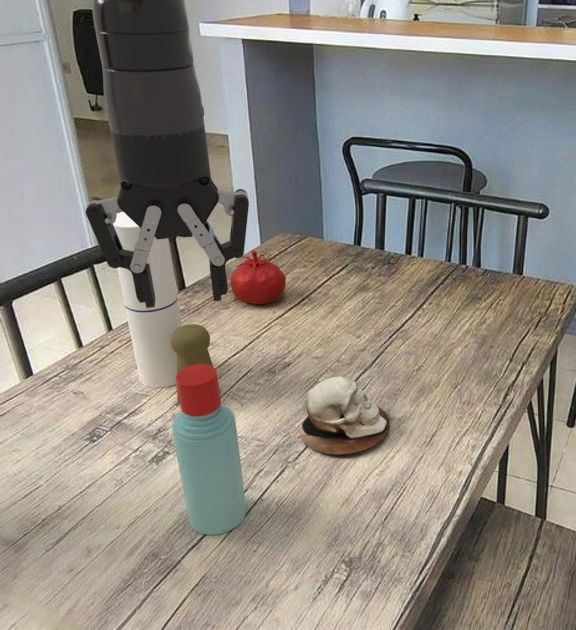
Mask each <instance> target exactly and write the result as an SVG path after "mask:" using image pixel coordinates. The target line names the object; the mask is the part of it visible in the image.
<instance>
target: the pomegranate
mask: <svg viewBox="0 0 576 630" xmlns="http://www.w3.org/2000/svg"><path fill="white" fill-rule="evenodd" d="M250 254H251V256H252V258H251V257H250V256H246V255H245V256H244V255H243V256H242V257H241V258H242V259H245V260H244V261H243V262H242V263H239V264H238V265H235V267H236V268H235V269H234V271H233V272H232V274H231V275H230V287H231V291H232V294H233V295H234V297H235V298H237V300H239V301H241V302H243V303H247V304H254V305H265V304H269V303H271V302H274V301H276V300H278V299H279V298H280V297H281V296H282V294H283V293H284V290H285V286H286V282H287V281H286V280H287V277H286V275H285V273H284V272H283V271H282V269H280V267H279V266H278V265H276V264H275V263H274V262H271V261H270V260H269V259H271V260H272V259H274V260H275V259H278V258H277V257H267V258H263V259H262V258H261V257H265V254H262V253H260V254H259V256H258V252H257V251H256V250H251V251H250Z"/></svg>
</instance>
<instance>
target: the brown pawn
mask: <svg viewBox="0 0 576 630" xmlns="http://www.w3.org/2000/svg"><path fill="white" fill-rule="evenodd" d="M210 345H211V335H210V332H209V331H208V329H207V328H206V327H205V326H203V325H200V324H197V323H196V324H193V323H191V324H190V323H189V324H184V325H182V326H181V327H179V328H177V329H176V330H175V331H174V332H173V333H172V335H171V346H172V348H173V350H174V352H176V353H177V373H178V372H179V371H180V370H182V369H184V368H186V367H188V366H191V365H197V364H205V365H210V366H212V367H214V365H213V361H212V359H211V356H210V352H209V347H210ZM219 391H220V393H221V392H222V391H221V388H220V387H219ZM176 401H177V402H178V403H179V397H178V391H177V390H176Z"/></svg>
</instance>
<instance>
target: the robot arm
mask: <svg viewBox="0 0 576 630" xmlns="http://www.w3.org/2000/svg"><path fill="white" fill-rule="evenodd" d="M91 4H92V5H91V6H92V19H93V24H94V30H95V36H96V40H97V41H96V42H97V46H98V47H97V48H98V51H99V57H100V61H101V62H100V63H101V69H102V79H103V80H102V81H103V96H104V103H105V109H106V114H107V120H108V125H109V130H110V135H111V140H112V146H113V147H112V148H113V151H114V157H115V162H116V168H117V173H118V178H119V184H120V185H119V186H120V187H119V191H118V194H117V195H116V196H112V197H108V198H104V199H102V198H100V197H97V196H95V197H92V198H90V200H89V202H88V204H87V206H86V207H85V216H86V218H87V220H88V222H89V225H90V227H91V229H92V231H93V234H94V236H95V238H96V241H97V244H98V245H99V247H100V250H101V252H102V254H103V257H104V259H105V261H106V265H108V266H109V267H110V268H111V269H117V268H119V267H121V268H125V269H128V270H129V271H130V272H131V273H132V275H133V281H134V286H135V291H136V296H137V299H138V301H139V302H140V303H143V302H145V304H146V308H152V307H155V293H154V287H153V282H152V276H151V270H150V265H149V264H147V263H146V261H147V258H148V255H149V252H150V249H151V246H152V243H153V239H154V237H156V240H157V239H166V238H168V239H169V238H172V237H177V238H193V237H194V239H195V240H196V242H197V244H198V245H199V247H200V248H201V249H202V250H203V251H204V253H205V254H206V256H207V257H208V261H209V273H210V281H211V282H210V283H211V288H212V289H211V290H212V297H213V301H214V302H222V300H223V299H222V296H226V295H227V293H228V291H229V287H228V277H227V267H226V264H227V263H228V262H229V261H230V260H232V259H233V260H234V259H241V258H242V256H243V257H244V254H245V246H246V237H247V229H248V228H247V226H248V216H249V208H250V207H249V206H250V202H249V196H248V192H247V191H246V190H245V189H243V188H237V189H236V190H234V191H230V190H221V189H218V187H217V185H216V184H215V183H214V181H213V179H212V174H211V168H210V167H211V166H210V158H209V150H208V141H207V133H206V128H205V127H206V126H205V125H206V124H205V117H204V116H205V109H204V106H203V102H202V101H203V100H202V95H201V88H200V84H199V81H198V77H197V73H196V68H195V64H194V63H195V62H194V54H193V46H192V39H191V30H190V23H189V18H188V12H187V8H186V7H187V6H186V0H92V3H91ZM218 204H221V205H222V206H223V208H224V213H225V214H226V216H228V217H231V222H230V223H231V224H230V231H229V232H230V233H229V240H228V241H225V242H223V243H221V241H220V239H218V237H217V235H216V234H215V232H214V229H213V227H212V225H211V224H210V222H209V220H208V219H209V218H210V217H211V214H212V213H213V211H214V209H215V208H216V206H217V205H218ZM119 210H120V211H121V212H124V213H125V214H126V215H127V216H128V217H129V218H130V219H131V220H133V221H134V222H135V223H136V224H137V225H138V226H139V227H140V230H139V234H138V237H137V241H136V245H135V248H134V251H129V250H124V249H123V247H122V245H121V242H120V240H119V237H118V235H117V233H116V230H115V228H114V226H113V223H114V222H115V221H116V218H117V213H118V211H119Z"/></svg>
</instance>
